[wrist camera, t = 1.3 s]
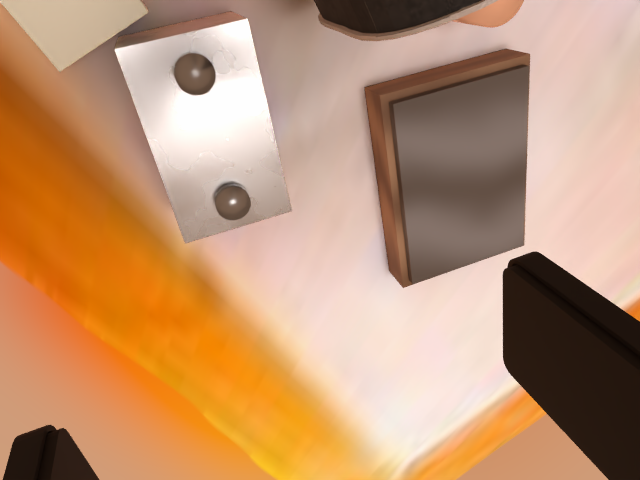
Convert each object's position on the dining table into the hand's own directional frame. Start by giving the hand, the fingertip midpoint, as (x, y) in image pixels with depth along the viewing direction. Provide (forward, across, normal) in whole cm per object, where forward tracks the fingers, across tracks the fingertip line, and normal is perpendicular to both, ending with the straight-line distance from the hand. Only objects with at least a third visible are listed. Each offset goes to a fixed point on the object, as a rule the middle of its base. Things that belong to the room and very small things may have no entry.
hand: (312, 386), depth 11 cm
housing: (+22, 0, 0) cm, 23 cm away
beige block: (+22, +4, -8) cm, 24 cm away
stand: (+22, -15, +8) cm, 28 cm away
